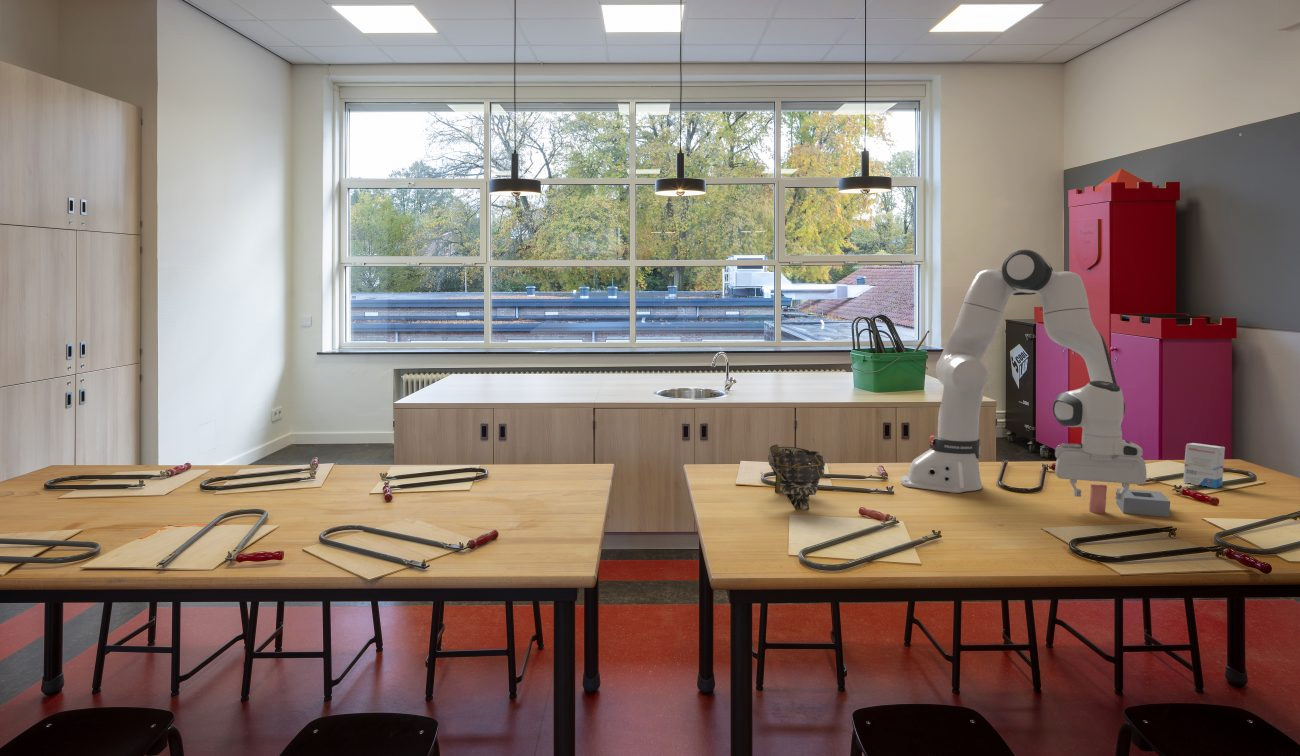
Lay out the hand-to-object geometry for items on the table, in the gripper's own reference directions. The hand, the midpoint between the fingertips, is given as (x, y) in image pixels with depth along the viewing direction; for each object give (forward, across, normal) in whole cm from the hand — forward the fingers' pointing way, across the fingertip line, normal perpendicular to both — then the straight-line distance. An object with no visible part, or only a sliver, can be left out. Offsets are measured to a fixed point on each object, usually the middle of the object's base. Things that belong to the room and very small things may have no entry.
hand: (1098, 497), depth 198 cm
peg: (+4, 0, 0) cm, 4 cm away
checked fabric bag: (+4, -75, -15) cm, 77 cm away
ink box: (+4, +33, +42) cm, 53 cm away
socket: (+4, +11, +6) cm, 13 cm away
